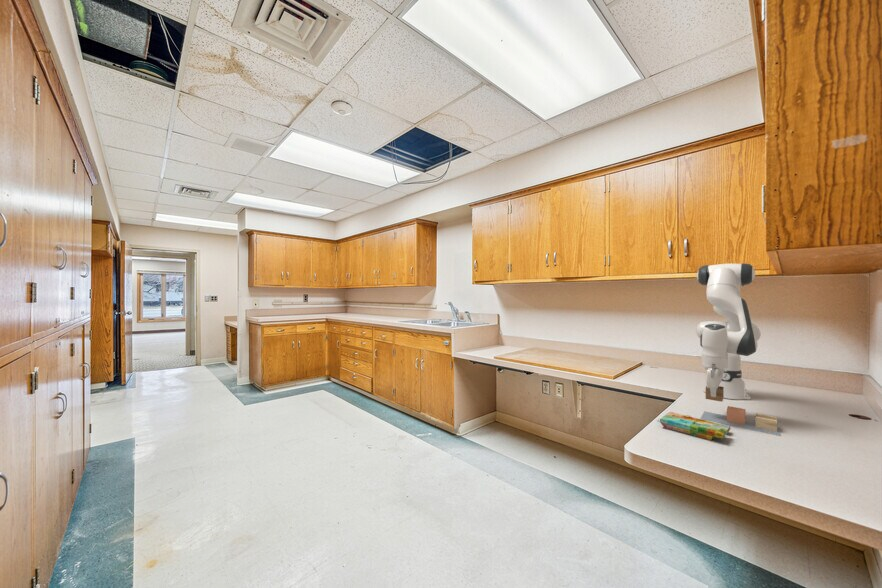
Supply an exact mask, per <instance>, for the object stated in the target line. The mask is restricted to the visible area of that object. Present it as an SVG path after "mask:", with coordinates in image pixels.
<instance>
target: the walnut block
mask: <svg viewBox="0 0 882 588" xmlns="http://www.w3.org/2000/svg"><path fill="white" fill-rule="evenodd" d="M705 389H706V392H705V399H706V400H710V401H716V402H723V401H724V399H725V398H724V387H721V386H719V387H718V389H717V390H716V397H712V396H711V392H710V388H707V386H706V385H705Z"/></svg>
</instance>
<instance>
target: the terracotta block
mask: <svg viewBox="0 0 882 588" xmlns="http://www.w3.org/2000/svg"><path fill="white" fill-rule="evenodd" d="M726 416H727V421H728V422H733V423H738V424H743V425H745V419H746V408H741V407H736V406H730V405H727V408H726Z"/></svg>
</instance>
